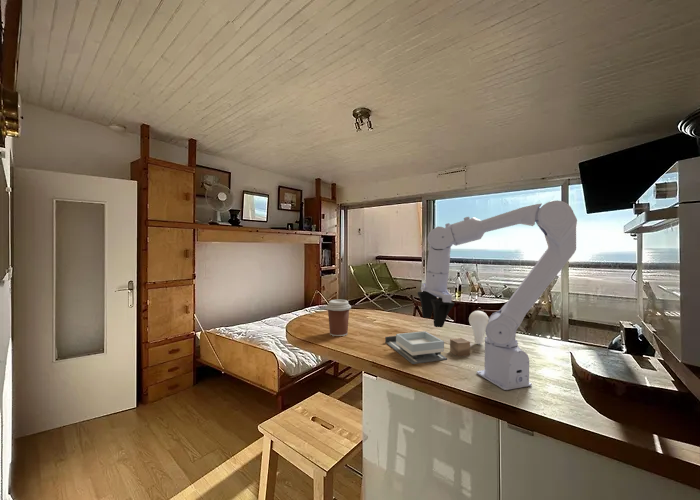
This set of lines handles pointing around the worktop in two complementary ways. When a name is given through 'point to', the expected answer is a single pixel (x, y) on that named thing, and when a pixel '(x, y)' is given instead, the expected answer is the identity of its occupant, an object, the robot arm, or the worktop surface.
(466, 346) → the block
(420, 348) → the white shallow tray
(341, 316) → the coffee cup
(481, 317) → the lightbulb
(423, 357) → the track
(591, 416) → the worktop surface
